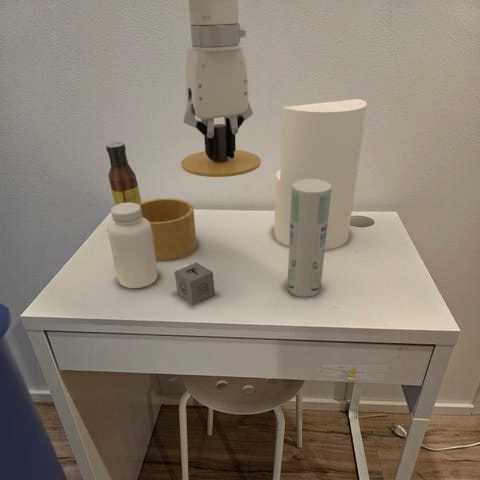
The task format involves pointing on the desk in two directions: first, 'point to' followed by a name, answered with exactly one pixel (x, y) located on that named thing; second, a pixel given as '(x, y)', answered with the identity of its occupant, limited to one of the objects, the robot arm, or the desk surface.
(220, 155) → the tan wooden disc
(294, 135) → the cylinder
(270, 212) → the desk surface
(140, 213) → the pill bottle
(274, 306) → the desk surface
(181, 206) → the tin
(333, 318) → the desk surface
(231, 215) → the desk surface
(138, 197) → the sauce bottle
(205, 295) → the dice cube
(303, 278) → the spray can
